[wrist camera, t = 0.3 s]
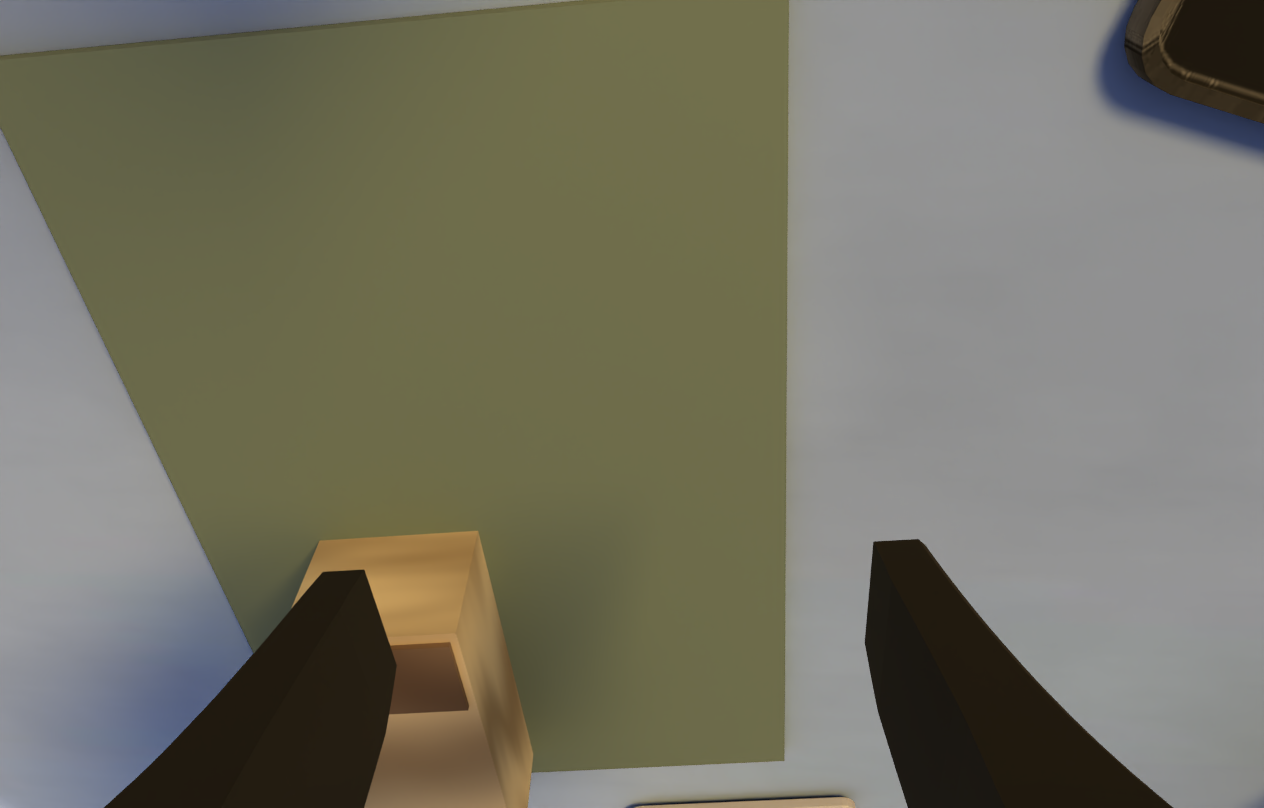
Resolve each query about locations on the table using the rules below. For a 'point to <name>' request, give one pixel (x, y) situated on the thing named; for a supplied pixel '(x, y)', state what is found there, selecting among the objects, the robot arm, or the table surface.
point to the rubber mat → (465, 326)
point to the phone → (1201, 51)
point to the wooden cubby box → (440, 673)
